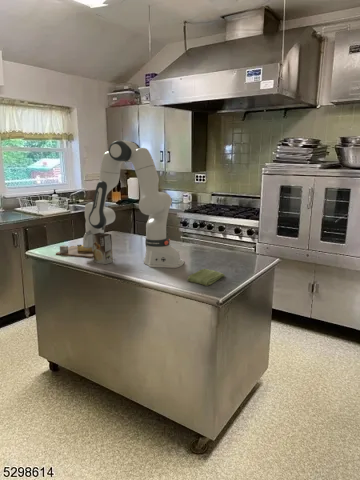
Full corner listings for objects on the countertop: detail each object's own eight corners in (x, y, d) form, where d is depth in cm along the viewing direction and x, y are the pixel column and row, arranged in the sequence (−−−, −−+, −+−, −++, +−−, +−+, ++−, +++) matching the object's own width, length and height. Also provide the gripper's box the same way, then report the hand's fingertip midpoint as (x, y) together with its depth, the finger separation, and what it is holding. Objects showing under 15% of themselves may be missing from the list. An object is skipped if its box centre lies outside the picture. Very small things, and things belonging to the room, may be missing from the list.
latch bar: (77, 252, 217) (76, 245, 216) (78, 250, 220) (78, 244, 219) (100, 252, 217) (100, 245, 216) (101, 251, 219) (101, 244, 219)
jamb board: (105, 250, 226) (105, 242, 224) (91, 258, 209) (91, 249, 208) (72, 247, 232) (71, 239, 231) (55, 254, 215) (55, 246, 214)
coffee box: (113, 261, 202) (112, 234, 198) (106, 264, 197) (104, 236, 193) (100, 259, 206) (99, 232, 202) (93, 262, 201) (91, 234, 197)
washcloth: (225, 277, 180) (226, 271, 179) (208, 287, 166) (208, 281, 165) (203, 272, 187) (203, 266, 186) (184, 282, 173) (185, 275, 172)
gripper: (89, 233, 201) (91, 256, 204) (105, 226, 220) (106, 247, 223) (79, 232, 202) (81, 255, 206) (96, 225, 222) (97, 247, 225)
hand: (94, 251), depth 215 cm, fingers closed
